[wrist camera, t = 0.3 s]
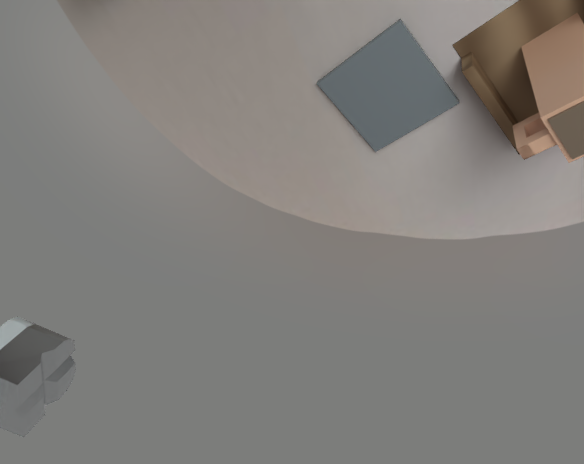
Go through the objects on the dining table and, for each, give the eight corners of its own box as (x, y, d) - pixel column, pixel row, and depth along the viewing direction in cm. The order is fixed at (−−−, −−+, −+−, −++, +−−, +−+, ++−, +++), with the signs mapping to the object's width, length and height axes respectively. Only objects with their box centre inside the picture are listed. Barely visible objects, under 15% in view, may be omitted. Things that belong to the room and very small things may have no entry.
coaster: (400, 18, 51) (400, 20, 51) (458, 100, 56) (459, 103, 56) (317, 81, 58) (316, 83, 58) (376, 149, 63) (375, 151, 63)
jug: (577, 12, 47) (614, 82, 37) (600, 56, 49) (641, 133, 39) (493, 63, 52) (506, 136, 42) (518, 100, 54) (535, 179, 44)
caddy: (584, -44, 44) (593, -32, 41) (642, 73, 50) (652, 90, 47) (452, 44, 52) (453, 58, 49) (515, 136, 58) (518, 154, 55)
